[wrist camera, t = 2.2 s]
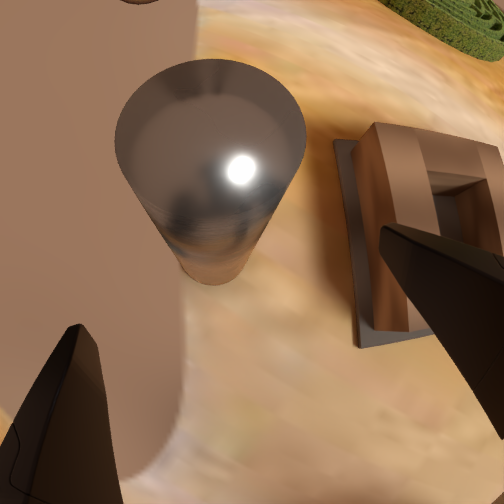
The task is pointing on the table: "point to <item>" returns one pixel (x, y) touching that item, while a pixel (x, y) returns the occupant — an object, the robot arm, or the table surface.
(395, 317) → the socket block
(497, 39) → the maze
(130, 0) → the wooden toy train
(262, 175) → the steel pin
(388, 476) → the table surface
